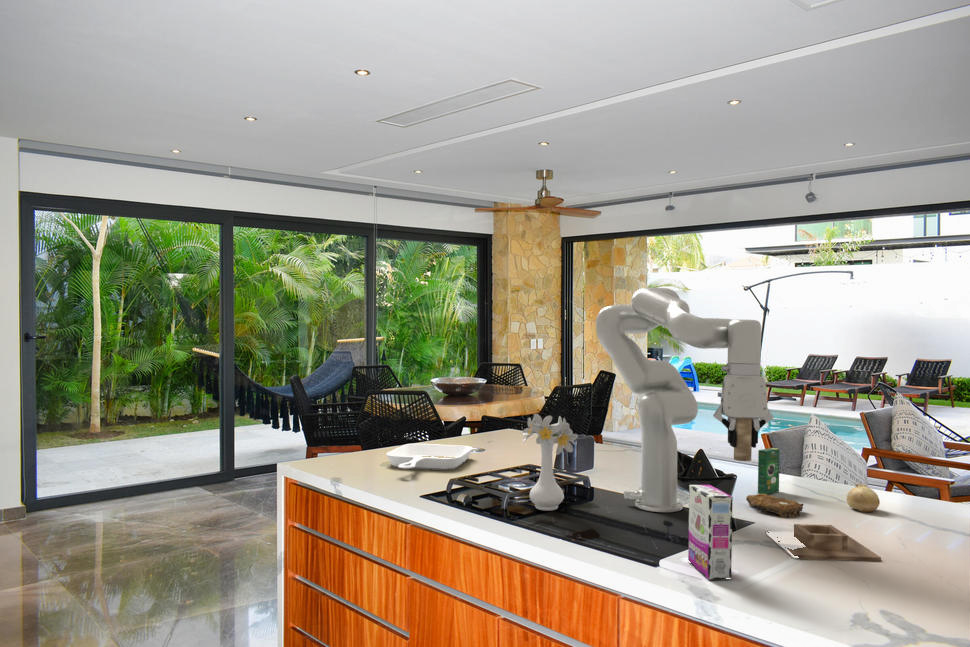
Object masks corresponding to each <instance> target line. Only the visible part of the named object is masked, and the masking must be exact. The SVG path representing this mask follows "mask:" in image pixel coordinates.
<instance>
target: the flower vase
mask: <svg viewBox="0 0 970 647" xmlns="http://www.w3.org/2000/svg"><path fill="white" fill-rule="evenodd" d="M552 420H553V416H552V415H547V416H545V417H544V418H543V419H542V417H541V415H539V414H538V413H534V414H533V418H531V417H528V419H527V424H526V425H527V427H526V428H524V429H522V432H521V436H524V437H523V440H522V443H524V442H525V441H526V440H528V438H530V437H531V436H533V435H534V434H537V437H536V439H535V443H536V444H538V445H540V451H541V457H540V458H541V461H540V462H541V463H540V464H541V465H540V473H539V478H538V480H537V481H536V483H535V484H534V485H533V486H532V488H531V489H530V491H529V499H530V501H531V502H532V503H533V505H534V506H535V509H536V510H539V511H545V512H547V511H548V512H551V511H555V510H558V508H559V505H560V504H561V503H562V502H563V501H564V498H565V495H564V491H563V489H562V488H561V486H560V485H559V484H558V483H557V482H556V481H557V480H556V479H555V475H554V468H553V467H554V464H553V463H554V462H553V450H554V445H555V444H557V447H556V451H555V453H556V455H558V456H559V455H561V453H562V452H563V450H564V449H565V451H567V452H568V453H573V451H574V447H573V445H575V444H576V443H575V440H577V439H578V438H579V435H578V433H574V431H573V430H572V429H571V427H570V423H568V422H567V420H566V417H563V418H562V417H561V415H559V416H558V420H557V423H553V424H550V423H551V422H552Z"/></svg>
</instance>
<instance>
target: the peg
mask: <svg viewBox="0 0 970 647" xmlns="http://www.w3.org/2000/svg"><path fill="white" fill-rule="evenodd" d="M734 428H735V431H736V432H737V433H736V447H733V460H734V461H740V462H752V448H753V447H752V419H743V418H736V423H735V427H734Z"/></svg>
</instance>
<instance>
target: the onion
mask: <svg viewBox="0 0 970 647" xmlns="http://www.w3.org/2000/svg"><path fill="white" fill-rule="evenodd" d="M854 484H855V485H854V486H855V487H852V488H851V489H850V490H848V492H847V494H846V503H847V504H848V506H849V507H850V508H852V509H853V510H856V511H858V512H860V513H871V512H874V511H876V510H877V509H878V508H879V506H880V504H881V503H880V498H879V496H878V494H877V492H875V490H873V489H872V488H870V487H868V486H866V484H862V483H856V482H854Z"/></svg>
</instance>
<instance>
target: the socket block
mask: <svg viewBox="0 0 970 647" xmlns="http://www.w3.org/2000/svg"><path fill="white" fill-rule="evenodd" d="M766 531H767V532H768V531H769V530H766ZM793 531H794V537H796V538H797V539H798V540H799V541H800V542H801V543H803V544H804V545H805V546H806V547H803V548H797V549H794V550H792V549H789V548H787V549H788V550H789V551H790V552H791V553H792V554H793V555H794V556H798V557H799V559H798V560H819V561H820V560H823V561H825V560H826V561H827V560H828V561H859V562H860V561H863V562H882V557H881V556H880V555H878V554H877V553H875V552H874V551H872V550H871V549H870V548H868V547H866V546H865V545H863V544H861V543H860V542H858V541H857V540H855V539H854V538H852V537H851V536H849V535H848V534H847V533H844V532H843V531H841V530H839V529H838V528H836V527H835V526H833V525H832V524H809V523H808V524H807V523H806V524H804V523H803V524H800V523H794V524H793ZM768 533H769V532H768ZM777 538H778V537H777ZM778 542H780V541H778ZM785 548H786V547H785Z"/></svg>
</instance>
